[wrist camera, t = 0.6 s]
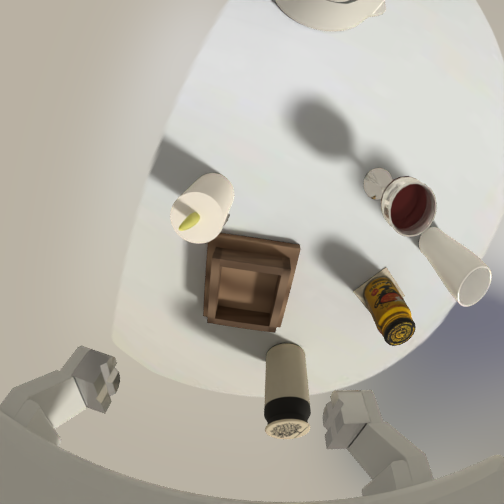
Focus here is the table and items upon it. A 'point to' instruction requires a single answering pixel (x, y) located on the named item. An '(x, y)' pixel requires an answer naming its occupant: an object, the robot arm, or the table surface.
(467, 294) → the drinking glass
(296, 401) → the travel mug
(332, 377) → the table surface
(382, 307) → the condiment
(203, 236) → the candle
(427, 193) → the wineglass
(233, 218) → the table surface
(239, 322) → the candle holder
